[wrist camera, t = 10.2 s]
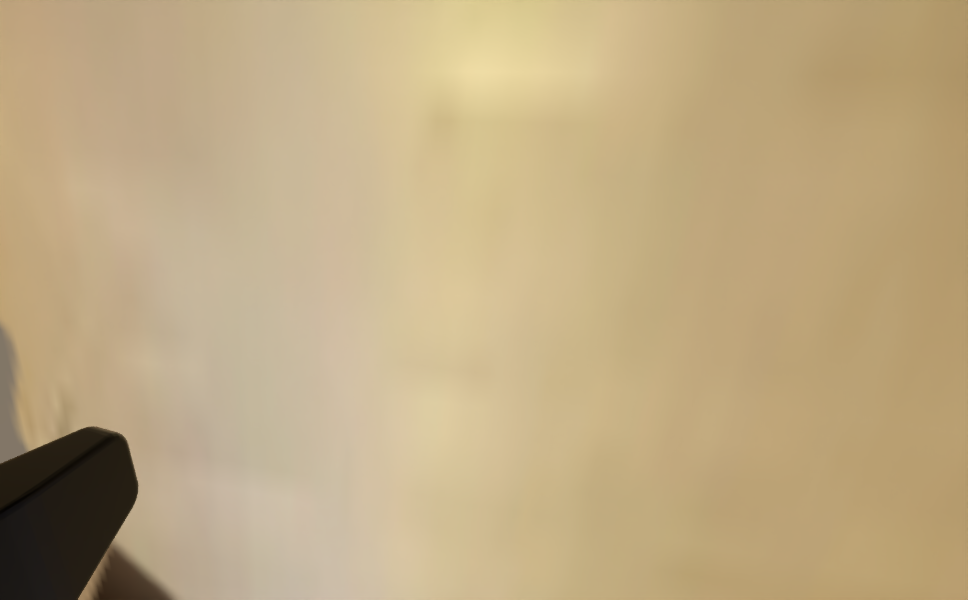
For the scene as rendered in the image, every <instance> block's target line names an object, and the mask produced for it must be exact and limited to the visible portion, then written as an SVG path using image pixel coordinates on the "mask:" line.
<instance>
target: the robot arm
mask: <svg viewBox="0 0 968 600" xmlns="http://www.w3.org/2000/svg"><path fill="white" fill-rule="evenodd" d="M137 494H138V481H137V477H136V473H135V469H134V465H133V461H132V457H131V453H130V449H129V446H128V443H127V440H126V438H125V437H124V436H123V435H122V434H120V433H117V432H114V431H110V430H107V429H103V428H100V427H86V428H83V429H80V430H78V431H76V432H73V433H71V434H69V435H66V436H64V437H62V438H59V439H57V440H55V441H52V442H50V443H48V444H45V445H43V446H41V447H38V448H36V449H34V450H31V451H29V452H27V453H24V454H22V455H20V456H17V457H15V458H13V459H10V460H8V461H6V462H4V463H1V464H0V600H78V598H79V596H80V594H81V593H82V591H83V590H84V588H85V586H86V585H87V583H88V581H89V579H90V578H91V576H92V575H93V573H94V571H95V569H96V568H97V566H98V564H99V563H100V561H101V559H102V558H103V556H104V554H105V553H106V551H107V549H108V548H109V546H110V544H111V543H112V541H113V539H114V538H115V536H116V534H117V533H118V531H119V529H120V528H121V526H122V524H123V523H124V521H125V519H126V518H127V516H128V514H129V513H130V511H131V509H132V508H133V505H134V503H135V501H136V498H137Z"/></svg>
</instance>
